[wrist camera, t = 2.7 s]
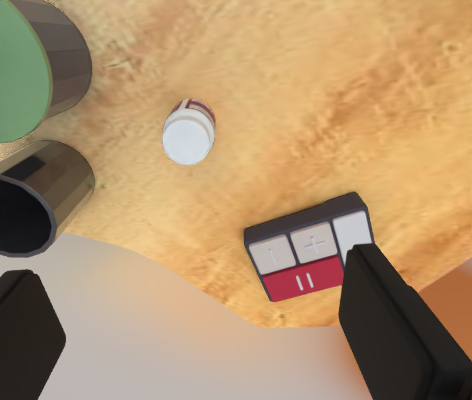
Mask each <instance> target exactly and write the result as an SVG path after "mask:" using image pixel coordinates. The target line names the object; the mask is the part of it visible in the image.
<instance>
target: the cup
mask: <svg viewBox="0 0 472 400" xmlns="http://www.w3.org/2000/svg"><path fill="white" fill-rule="evenodd" d="M94 186H95V180H94V175H93V171H92V169H91V167H90V165H89V164H88V162H87V161H86V159H85V158H84V157H83V156H82V155H81V154H80V153H79V152H77V151H76V150H74V149H73V148H71V147H70V146H68V145H65V144H63V143H60V142H56V141H50V140H42V141H36V142H33V143H31V144H29V145H27V146H24V147H22V148H20V149H18V150H17V151H15V152H13V153H11V154H9V155H7V156H6V157H4V158H2V159H0V255H3V256H7V257H25V258H26V257H27V258H28V257H31V256H34V255H37V254H40V253H43V252H45V251H46V250H47V249H48V248H49V246H50V245H52V244H53V243H54V241H55V240H56V239H57V238H58V237H59V235H60V234H61V233H62V232H63V231H64V229H65V228H66V227H67V226H68V224H69V223H70V222H71V221H72V220H73V218H74V217H75V216H76V215H77V214H78V212H79V211H80V210H81V209H82V208H83V206H84V205H85V204H86V203H87V201H88V200H89V199H90V197H91V195H92V193H93V191H94Z"/></svg>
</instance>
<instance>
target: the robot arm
mask: <svg viewBox="0 0 472 400" xmlns="http://www.w3.org/2000/svg"><path fill="white" fill-rule="evenodd" d="M339 321H340V324H341V326H342V329H343V331H344V334H345V336H346V338H347V341H348V343H349V345H350V348H351V350H352V352H353V355H354V357H355V359H356V361H357V364H358V366H359V368H360V371H361V373H362V375H363V378H364V380H365V382H366V385H367V387H368V389H369V391H370V394H371V396H372V398H373V400H472V361H471V360H470V359H469V357H468V356H467V355H466V354H465V352H464V351H463V350H462V349H461V347H460V346H459V345H458V343H457V342H456V341H455V340H454V338H453V337H452V336H451V335H450V333H449V332H448V331H447V330H446V328H445V327H444V326H443V325H442V323H441V322H440V321H439V320H438V318H437V317H436V316H435V314H434V313H433V312H432V311H431V309H430V308H429V307H428V306H427V304H426V303H425V302H424V301H423V299H422V298H421V297H420V296H419V294H418V293H417V292H416V291H415V290H414V289H413V288H412V287H411V286H409V285H407V284H406V283H405V281H404V280H403V279H402V277H401V276H400V275H399V274H398V272H397V271H396V270H395V268H394V267H393V266H392V265H391V263H390V262H389V261H388V259H387V258H386V257H385V256H384V254H383V253H382V252H381V250H380V249H379V248H378V247H377V245H376V244H374V243H365V244H355V245H353V247H352V249H350V250H348V251H347V254H346V261H345V269H344V276H343V284H342V291H341V298H340V306H339ZM65 343H66V335H65V333H64V330H63V328H62V326H61V324H60V321H59V319H58V317H57V315H56V313H55V311H54V309H53V306H52V304H51V302H50V299H49V297H48V295H47V293H46V291H45V288H44V286H43V284H42V282H41V280H40V277H39V276H38V275H37V274H34V273H33V271H31V270H27V269H26V270H12V271H7V272H5V273H4V274H3V275H2V276H1V277H0V400H38V398H39V396H40V394H41V392H42V390H43V388H44V386H45V384H46V382H47V380H48V378H49V376H50V374H51V372H52V370H53V368H54V366H55V364H56V363H57V361H58V359H59V357H60V354H61V353H62V351H63V349H64V346H65Z"/></svg>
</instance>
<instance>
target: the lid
mask: <svg viewBox="0 0 472 400" xmlns="http://www.w3.org/2000/svg"><path fill="white" fill-rule="evenodd" d="M52 93H53V79H52V72H51V67H50V64H49V60H48V57H47V54H46V52H45V49H44V47H43V45H42V43H41V41H40V39H39V37H38V35H37V34H36V32H35V31H34V29H33V28H32V26H31V25H30V23H29V22H28V21H27V20H26V18H25V17H24V16H23V15H22V13H21V12H20V11H19V10H18V9H17V8H16V7H15V6H14V5H13V4H12V3H11V2H10V1H9V0H0V143H6V142H11V141H14V140H17V139H20V138H22V137H24V136H26V135H28V134H29V133H31V132H32V131H33V130H35V129H36V128H37V127H38V126H39V125H40V124H41V123H42V121H43V120H44V118H45V117H46V115H47V112H48V110H49V108H50V104H51V100H52Z"/></svg>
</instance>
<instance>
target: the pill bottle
mask: <svg viewBox="0 0 472 400" xmlns="http://www.w3.org/2000/svg"><path fill="white" fill-rule="evenodd" d="M214 139H215V115H214V112H213V110H212V109H211V107H210V106H209V105H208V104H207V103H206V102H204V101H203V100H200V99H197V98H188V99H184V100H182V101H181V102H179V103H178V104H177V105H176V106H175V107H174V109H173V111H172V112H171V114H170V115H169V116H168V118H167V119H166V121H165V123H164V126H163V138H162V144H163V148H164V151H165V152H166V154H167V155H168V157H169V158H170V159H171V160H173V161H174V162H176V163H178V164H181V165H193V164H196V163H199V162H200V161H202V160H203V159H204V158H205V157H206V155H207V154H208V152H209V151H210V150H211V148H212V146H213V144H214Z"/></svg>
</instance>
